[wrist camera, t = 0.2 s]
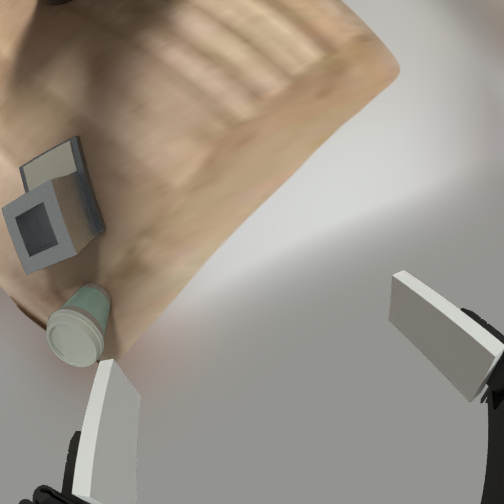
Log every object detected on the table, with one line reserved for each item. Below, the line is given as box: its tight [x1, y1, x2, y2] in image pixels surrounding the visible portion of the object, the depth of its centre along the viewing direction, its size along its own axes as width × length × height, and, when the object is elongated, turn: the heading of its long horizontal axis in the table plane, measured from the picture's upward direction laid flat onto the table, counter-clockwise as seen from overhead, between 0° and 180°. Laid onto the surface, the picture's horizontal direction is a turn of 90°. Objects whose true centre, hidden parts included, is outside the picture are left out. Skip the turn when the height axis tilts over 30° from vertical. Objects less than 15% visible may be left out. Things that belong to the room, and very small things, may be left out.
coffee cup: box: [46, 283, 111, 367], centre depth 32 cm, size 8×8×12 cm
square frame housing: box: [2, 136, 106, 275], centre depth 26 cm, size 14×11×9 cm
